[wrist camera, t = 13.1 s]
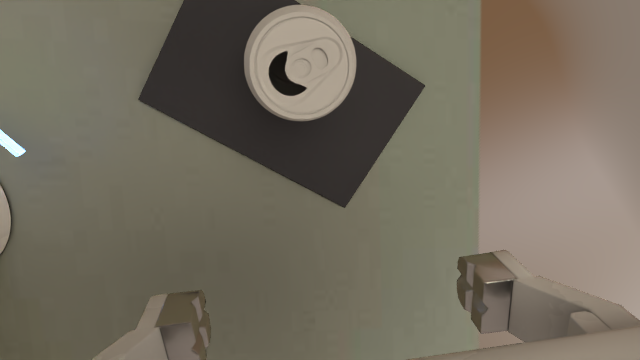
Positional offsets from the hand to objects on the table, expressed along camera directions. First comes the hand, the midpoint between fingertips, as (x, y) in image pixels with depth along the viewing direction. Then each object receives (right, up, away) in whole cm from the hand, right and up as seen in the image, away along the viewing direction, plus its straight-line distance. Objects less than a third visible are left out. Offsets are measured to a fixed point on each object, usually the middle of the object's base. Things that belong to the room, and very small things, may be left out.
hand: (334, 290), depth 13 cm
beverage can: (-3, +14, +20) cm, 25 cm away
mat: (-3, +11, +22) cm, 24 cm away
